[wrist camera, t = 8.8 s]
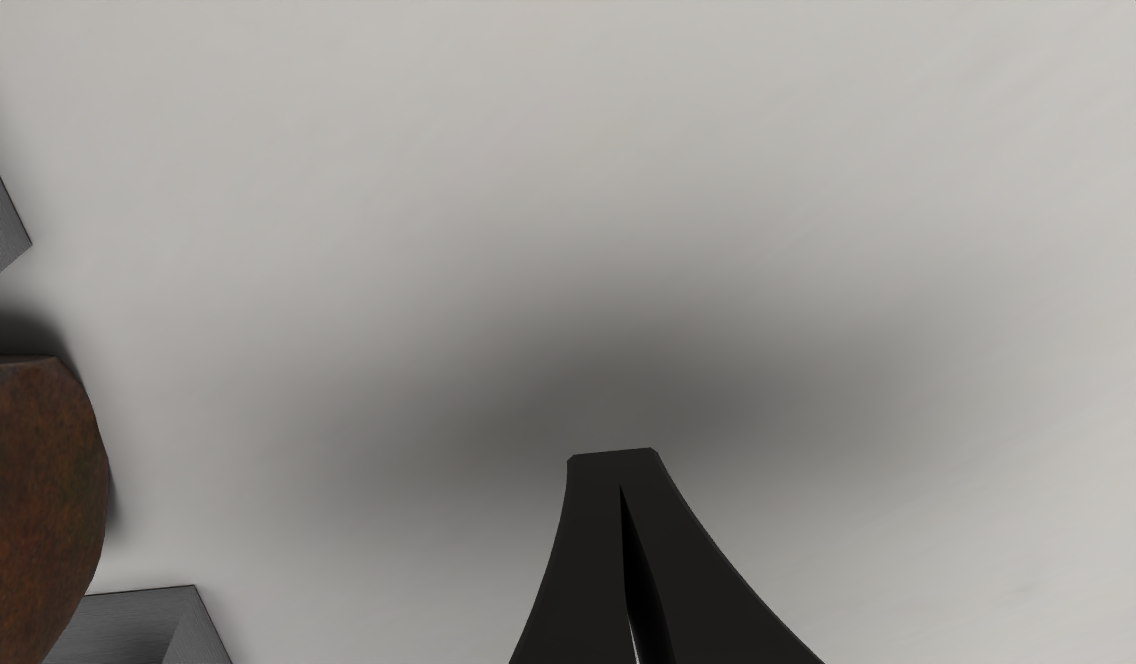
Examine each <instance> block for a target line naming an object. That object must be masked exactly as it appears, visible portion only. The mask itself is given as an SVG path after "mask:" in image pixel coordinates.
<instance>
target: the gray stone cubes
mask: <svg viewBox="0 0 1136 664" xmlns="http://www.w3.org/2000/svg"><path fill="white" fill-rule="evenodd" d="M31 246H32V245H31V243H30V241H29V239H28V237H27V235H26V233H25V231H24V229H23V226H22V224H21V222H20V220H19V218H18V216H17V214H16V212H15V210H14V208H13V206H12V203H11V201H10V199H9V197H8V195H7V193H6V191H5V189H4V187H3V185H2V182H1V180H0V272H1V271H3V270H4V269H5V268H6V267H7V266H8V265H10V264H11V263H12V262H13V261H14V260H15V259H17V258H18V257H19V256H20V255H21V254H22V253H24V252H25V251H26V250H27V249H28V248H29V247H31ZM41 664H231V662H230V660H229V658H228V656H227V654H226V652H225V650H224V648H223V645H222V643H221V641H220V639H219V637H218V635H217V633H216V631H215V629H214V627H213V625H212V622H211V620H210V618H209V616H208V614H207V612H206V610H205V608H204V606H203V604H202V601H201V599H200V597H199V595H198V593H197V591H196V589H195V587H194V586H189V587H179V588H168V589H158V590H147V591H137V592H127V593H116V594H106V595H95V596H85V597H83V598H82V599H81V601H80V603H79V605H78V607H77V609H76V611H75V613H74V614H73V616H72V618H71V620H70V622H69V624H68V625H67V627H66V628H65V630H64V631H63V633H62V634H61V636H60V637H59V639H58V640H57V641H56V643H55V644H54V646H53V647H52V649H51V650H50V652H49V653H48V655H47V656H46V658H45V659H44V661H43V662H42V663H41Z"/></svg>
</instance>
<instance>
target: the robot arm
mask: <svg viewBox="0 0 1136 664" xmlns="http://www.w3.org/2000/svg"><path fill="white" fill-rule="evenodd" d="M628 617H629V618H628ZM629 621H630V624H629ZM630 626H631V630H632V634H633V638H634V642H635V646H636V651H637V655H638V659H639V663H640V664H825V663H824V662H823V661H822V660H821V659H819V658H818V657H817V656H816V655H815V654H814V653H813V652H812V651H811V650H810V649H809V648H808V647H807V646H806V645H805V644H804V643H803V642H802V641H801V640H800V639H799V638H798V637H797V636H796V635H795V634H794V633H793V632H792V631H791V630H790V629H789V628H788V627H787V626H786V625H785V624H784V623H783V622H782V621H781V620H780V619H779V618H778V617H777V616H776V615H775V614H774V613H773V612H772V610H771V609H770V608H769V607H768V606H767V605H766V604H765V603H764V602H763V601H762V599H761V598H760V597H759V596H758V595H757V594H756V593H755V592H754V590H753V589H752V588H751V587H750V586H749V585H748V583H747V582H746V581H745V580H744V579H743V577H742V576H741V575H740V574H739V573H738V571H737V570H736V569H735V568H734V567H733V565H732V564H731V563H730V562H729V560H728V559H727V558H726V557H725V555H724V554H723V553H722V552H721V550H720V549H719V548H718V546H717V545H716V544H715V542H714V541H713V539H712V538H711V537H710V535H709V534H708V533H707V531H706V530H705V529H704V527H703V526H702V525H701V523H700V522H699V520H698V519H697V518H696V516H695V515H694V513H693V512H692V510H691V509H690V507H689V506H688V504H687V503H686V501H685V500H684V498H683V497H682V495H681V493H680V492H679V490H678V489H677V487H676V485H675V484H674V482H673V480H672V479H671V477H670V475H669V474H668V472H667V470H666V468H665V466H664V464H663V463H662V461H661V459H660V456H659V454H658V452H656V451H655V450H654V449H652V448H651V447H649V448H639V449H629V450H618V451H608V452H598V453H587V454H577V455H573V456H572V457H571V458H570V459H569V460H568V461H567V484H566V492H565V498H564V503H563V508H562V513H561V518H560V522H559V526H558V530H557V533H556V537H555V541H554V544H553V548H552V552H551V555H550V559H549V562H548V565H547V568H546V571H545V574H544V577H543V579H542V582H541V585H540V588H539V591H538V594H537V597H536V599H535V602H534V605H533V608H532V610H531V613H530V615H529V618H528V620H527V623H526V625H525V628H524V630H523V632H522V635H521V637H520V639H519V642H518V644H517V646H516V648H515V650H514V653H513V655H512V657H511V659H510V661H509V664H637V663H636V658H635V652H634V646H633V641H632V635H631V630H630Z"/></svg>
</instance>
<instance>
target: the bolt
mask: <svg viewBox="0 0 1136 664" xmlns="http://www.w3.org/2000/svg"><path fill="white" fill-rule="evenodd" d="M108 489H109V479H108V457H107V454H106V451H105V448H104V445H103V442H102V439H101V436H100V432H99V429H98V425H97V421H96V417H95V414H94V411H93V408H92V405H91V403H90V400H89V398H88V396H87V394H86V392H85V391H84V389H83V388H82V386H81V384H80V383H79V382H78V380H77V379H76V378H75V377H74V376H73V374H72V373H71V372H70V371H69V370H68V369H67V367H66V366H65V365H64V364H63V362H62V361H61V360H60V359H59V358H58V356H45V355H20V354H0V664H41V663H42V662H43V661H44V659H45V658H46V656H47V655H48V653H49V652H50V650H51V649H52V647H53V646H54V644H55V643H56V641H57V640H58V639H59V637H60V636H61V634H62V633H63V631H64V630H65V628H66V627H67V625H68V624H69V622H70V620H71V618H72V616H73V614H74V613H75V611H76V609H77V607H78V605H79V603H80V601H81V599H82V598H83V596H84V594H85V592H86V590H87V588H88V586H89V584H90V583H91V581H92V579H93V577H94V574H95V571H96V568H97V565H98V562H99V559H100V556H101V551H102V546H103V541H104V535H105V523H106V512H107V501H108Z"/></svg>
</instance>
